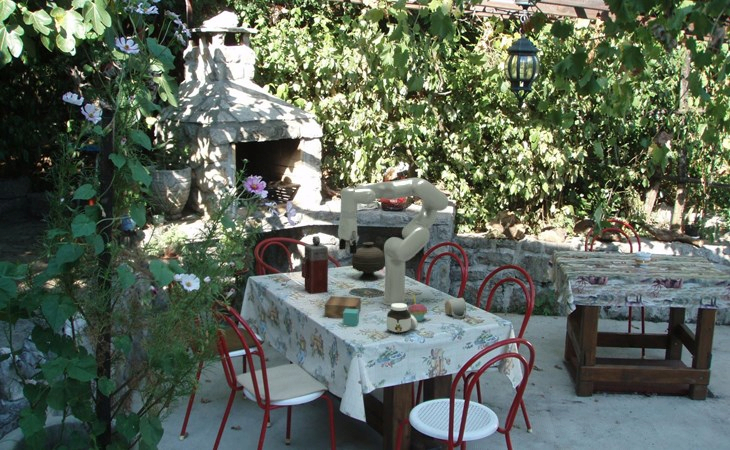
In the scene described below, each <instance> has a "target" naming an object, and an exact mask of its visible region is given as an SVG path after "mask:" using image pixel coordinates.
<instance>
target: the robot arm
mask: <svg viewBox="0 0 730 450" xmlns="http://www.w3.org/2000/svg"><path fill="white" fill-rule="evenodd" d="M410 197H418V198H420V199H421V209H420V211H419V212H418V213H417V214H416V216H415V217H414V218H413V219H412V220H410V222H408V223H407V224H405V226H404V227H403V228H402V230H401V235H402V238H400V237H397V236H396V237H395V236H392V237H390V238H388V239H387V240H386V241H385V242H384V245H383V253H384V255H385V265H384V268H385V269H384V271H385V272H384V274H385V275H384V297H383V298H381V303H382V304H383V305H386V306H391V305H392V304H394V303H403V304H406V305H407V304H408V302H409V301H414V296H415V295H410V294H409V295H408V294H407V292H406V290H405V289H406V288H405V287H406V262H408V261H409V260H411V259H412V258H413V257H415V256H416V254H418V253H419V252H420V251H421V250H422V249H423V248H424V247H425V246H426V245H427V244H428V242H429V240H430V236H431V235H430V234H431V233H430V231H429V229H430V228H431V227H432V226H433V224H435V222H436V220H437V215H438V212H441V211H444V210H447V208H448V206H449V198H448V196H447V195H446V194H445V193H444V192H443V191H441V189H438V187H436V186H435V185H433V184H432V183H431V182H430V181H428V180H427V179H424V178H421V177H420V178H419V177H409V178H403V179H399V180H398V179H397V180H392V181H391V180H390V181H382V182H372V183H371V182H370V183H366V184H359V185H357V186H355V187H343V188H342V189H341V191H340V217H339V221H338V229H337V236H338V241H339V243H338V250H346V247H347V241H349V243H350V245H349V254H351V255H352V254H355V253H356V250H357V249H358V248H357V247H358V243H359V239H360V236H359V235H358V222H357V221H358V220H357V218H358V204H359V205H370V204H373V203H374V202H375V201H376V199H382V200H384V199H385V200H399V199H403V198H410Z"/></svg>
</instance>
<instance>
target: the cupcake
mask: <svg viewBox="0 0 730 450" xmlns="http://www.w3.org/2000/svg"><path fill="white" fill-rule="evenodd" d="M413 296H414V300H413V302H414V303H413V304H410V305H409V307H407V310H408V311H409V312H410V314H411V315H413V316H414V317H415V318H416V320H417V322H421V321H423V320H424V317H425V315H426V314H427V313H428V308H427V306H426V305H424V304H423V303H417V302H416V300H417V299H416V295H413Z"/></svg>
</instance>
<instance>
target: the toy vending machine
mask: <svg viewBox="0 0 730 450" xmlns="http://www.w3.org/2000/svg"><path fill="white" fill-rule="evenodd" d="M328 272H329V247H328V246H326V245H324V244H321V239H320V237H319V236H318V235H317V236H312V244H311V243H310V244H305V245H304V256H303V257H302V260H301V277H302V278H303V279H304V291H305V292H307V293H309V294H310V295H315V294H322V293H328V291H329V287H328V286H329V285H328V284H329V278H328V277H329V273H328Z"/></svg>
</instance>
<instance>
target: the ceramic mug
mask: <svg viewBox="0 0 730 450" xmlns="http://www.w3.org/2000/svg"><path fill="white" fill-rule="evenodd" d="M444 311H445V313H446V315H447V316H451V315H452V317H453V318H454V319H457V318H462V319H464V318H465V316H466V313H467V303H466V300H465V299H464V298H463V297H458V298H452V299H451V298H450V299H447V300H446V301H445V302H444Z"/></svg>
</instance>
